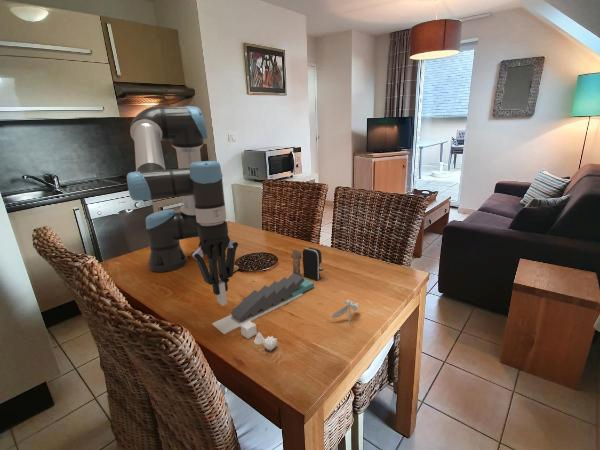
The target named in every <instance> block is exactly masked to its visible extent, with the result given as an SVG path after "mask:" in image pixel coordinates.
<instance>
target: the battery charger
mask: <svg viewBox="0 0 600 450" xmlns="http://www.w3.org/2000/svg"><path fill="white" fill-rule="evenodd" d="M322 259H323V258H322V251H321V250H320V249H319V248H314V247H307V248H303V251H302V267H303V276H304V277H306V278H309V279H310V280H313V281H318V280H319V279H321V273H320V271H319V268H320V265H321V263H322V262H323V261H322Z"/></svg>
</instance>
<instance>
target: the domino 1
mask: <svg viewBox="0 0 600 450" xmlns="http://www.w3.org/2000/svg"><path fill="white" fill-rule="evenodd" d="M258 291H259V290H258ZM258 291H257V290H256V289H253V291H251V293H249V294H248V295H247V296H246V297H245V298H244V299H243V300H242V301H241V302H240V303H239V304H238V305H237V306H235V307H234V308H233V309H232V310H231V311H230V315H231V314H232V316H233V317H235V318H236V319H237V320H239V321H240V322H241V323H242V322H243V321H244V320H245V319H246V318H247V317H248V316H249V315H250V314H251V313H252V312H253V311H254V310H255V309H256V308H257V307H258V306H259V305H260V304H261V303H262V302H263V301H264V300H265V299H266V298H265V296H264V295H263V294H261V293H259V292H258Z"/></svg>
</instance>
